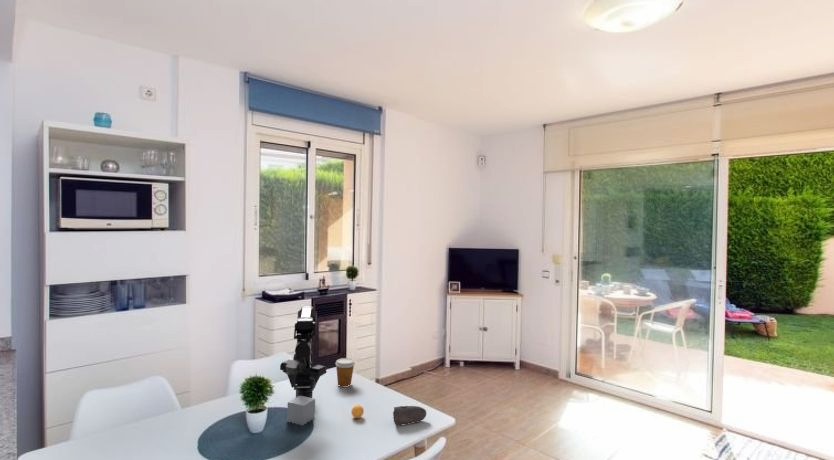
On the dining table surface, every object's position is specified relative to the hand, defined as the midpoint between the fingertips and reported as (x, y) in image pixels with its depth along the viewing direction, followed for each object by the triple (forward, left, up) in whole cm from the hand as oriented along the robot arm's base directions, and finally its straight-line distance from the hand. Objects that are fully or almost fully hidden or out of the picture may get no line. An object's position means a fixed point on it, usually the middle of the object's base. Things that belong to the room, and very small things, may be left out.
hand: (302, 389), depth 171 cm
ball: (+19, +12, -10) cm, 24 cm away
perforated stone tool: (+40, +17, -13) cm, 45 cm away
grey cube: (0, 0, -12) cm, 12 cm away
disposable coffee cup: (-5, +41, -13) cm, 43 cm away
